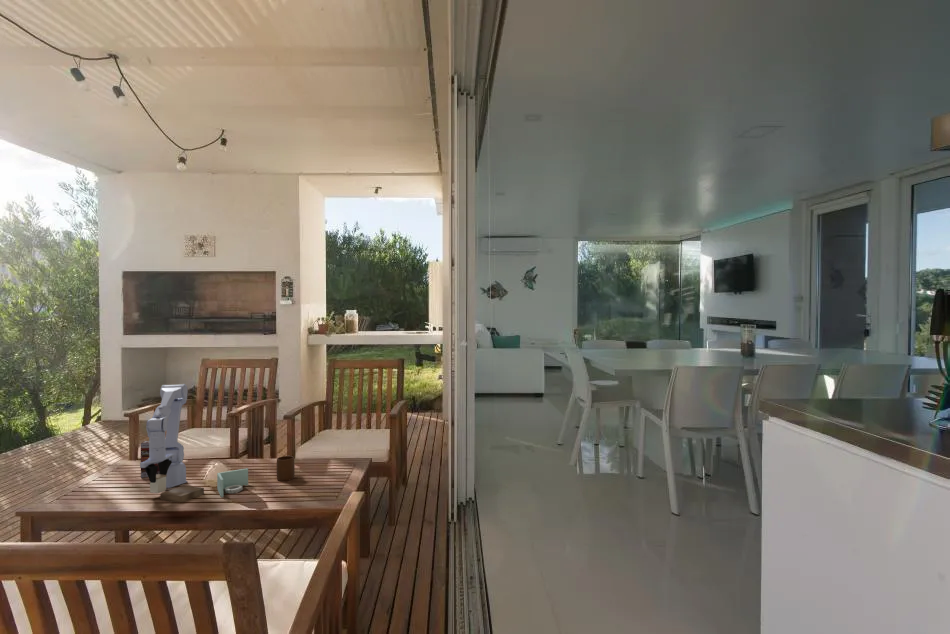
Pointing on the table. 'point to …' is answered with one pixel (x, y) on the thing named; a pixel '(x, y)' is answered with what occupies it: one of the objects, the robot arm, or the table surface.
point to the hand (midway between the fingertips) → (157, 480)
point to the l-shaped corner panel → (232, 481)
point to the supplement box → (146, 457)
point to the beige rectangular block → (158, 484)
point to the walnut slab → (182, 494)
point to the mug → (285, 468)
